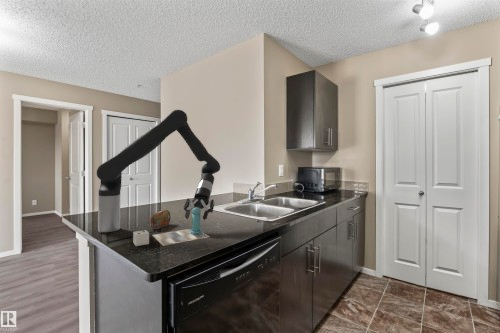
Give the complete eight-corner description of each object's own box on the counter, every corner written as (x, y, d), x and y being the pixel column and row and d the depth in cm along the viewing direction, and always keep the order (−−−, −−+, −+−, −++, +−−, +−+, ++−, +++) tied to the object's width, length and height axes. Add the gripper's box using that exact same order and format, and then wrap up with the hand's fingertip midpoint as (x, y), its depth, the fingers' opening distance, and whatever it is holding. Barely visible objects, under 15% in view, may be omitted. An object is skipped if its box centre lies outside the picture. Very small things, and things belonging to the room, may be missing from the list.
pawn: (193, 235, 111) (193, 208, 111) (188, 232, 115) (189, 207, 115) (203, 233, 114) (203, 207, 114) (198, 230, 118) (199, 205, 118)
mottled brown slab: (154, 231, 117) (154, 214, 117) (149, 231, 118) (149, 214, 118) (171, 224, 132) (171, 208, 132) (165, 223, 133) (165, 208, 132)
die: (135, 247, 96) (135, 234, 96) (133, 243, 100) (133, 231, 100) (149, 245, 99) (149, 232, 99) (146, 241, 103) (146, 229, 103)
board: (163, 246, 97) (163, 245, 97) (151, 235, 111) (151, 234, 111) (210, 237, 110) (210, 236, 110) (194, 228, 123) (194, 227, 123)
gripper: (188, 186, 123) (178, 213, 111) (215, 187, 120) (208, 214, 109) (192, 195, 128) (183, 222, 117) (218, 196, 126) (211, 223, 115)
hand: (195, 218), depth 113 cm, fingers open, 8 cm apart
